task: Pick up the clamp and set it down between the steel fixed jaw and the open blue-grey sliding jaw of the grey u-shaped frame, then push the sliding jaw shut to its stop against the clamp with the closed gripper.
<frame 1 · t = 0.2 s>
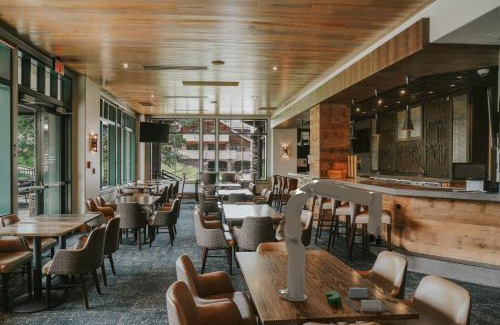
hand: (374, 243, 232), 31 cm above the table, tool pointing down, fingers open, 9 cm apart
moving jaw: (358, 292, 233), point 3 cm above the table, slide at 6.0 cm
grey u-shaped frame: (366, 305, 220), on the table
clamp: (333, 304, 221), on the table
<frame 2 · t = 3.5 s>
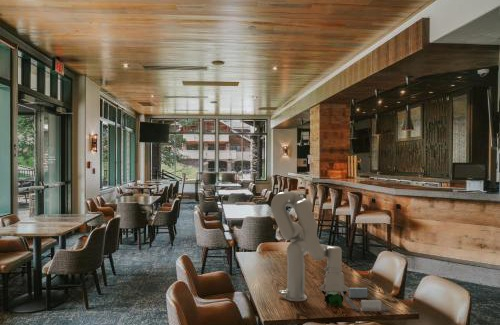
hand: (333, 302, 221), 1 cm above the table, tool pointing down, fingers closed on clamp, 7 cm apart
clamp: (333, 304, 221), on the table, touching gripper
everything else where it was.
when the fingers open (1 cm above the table, at t = 9.8 s): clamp stays where it is, resting in grey u-shaped frame.
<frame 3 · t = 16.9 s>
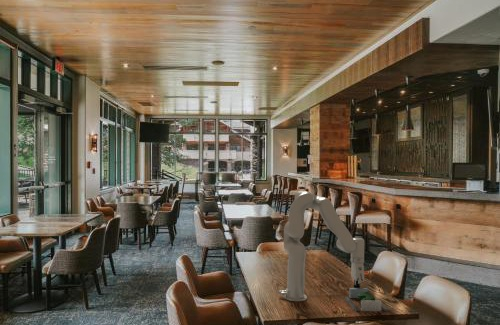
hand: (356, 291, 236), 3 cm above the table, tool pointing down, fingers closed
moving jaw: (358, 293, 233), point 3 cm above the table, slide at 5.5 cm, touching gripper
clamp: (366, 306, 220), resting in grey u-shaped frame
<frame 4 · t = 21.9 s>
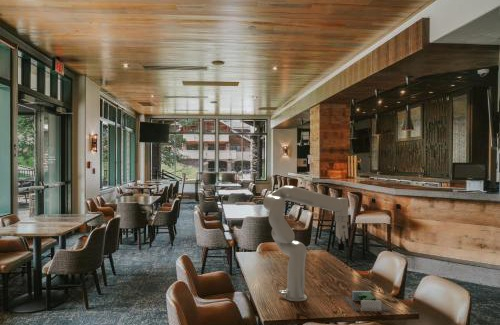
hand: (340, 250, 241), 25 cm above the table, tool pointing down, fingers closed
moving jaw: (361, 296, 227), point 3 cm above the table, slide at 0.0 cm
everything else where it was.
at the end: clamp 0.8 cm off-centre on the grey u-shaped frame, point 0.0 cm above the grey u-shaped frame's base; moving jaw slide at 0.0 cm; the gripper is holding nothing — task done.
